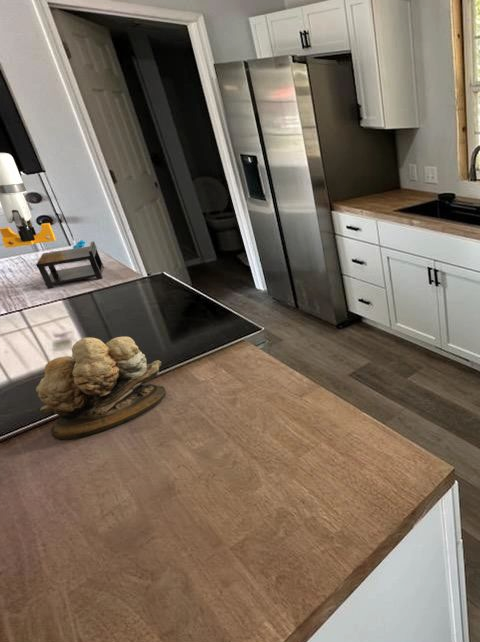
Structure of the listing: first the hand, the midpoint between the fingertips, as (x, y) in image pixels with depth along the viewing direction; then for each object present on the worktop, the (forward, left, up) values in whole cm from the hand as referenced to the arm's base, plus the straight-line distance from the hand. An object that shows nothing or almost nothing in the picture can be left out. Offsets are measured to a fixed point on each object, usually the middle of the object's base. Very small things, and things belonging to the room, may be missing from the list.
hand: (29, 238), depth 151 cm
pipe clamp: (0, 0, -2) cm, 2 cm away
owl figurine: (+22, -123, -14) cm, 126 cm away
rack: (+10, -15, -14) cm, 22 cm away
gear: (+9, +12, -14) cm, 20 cm away
